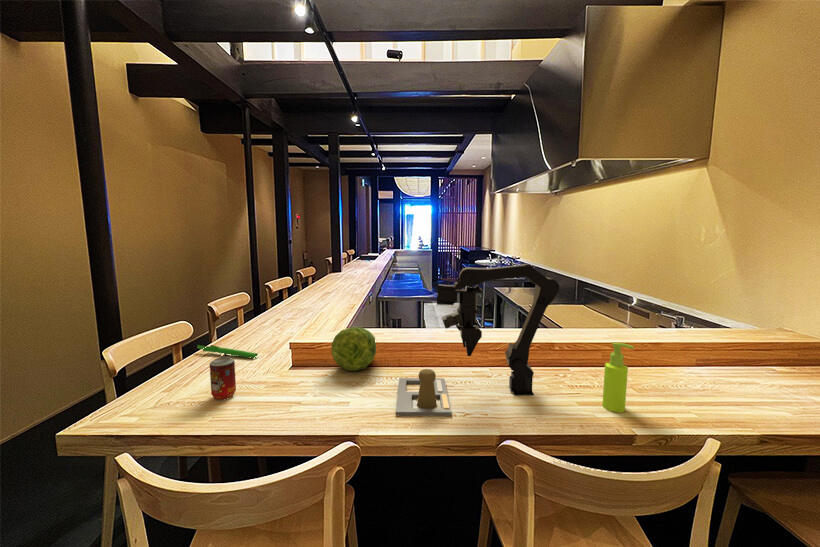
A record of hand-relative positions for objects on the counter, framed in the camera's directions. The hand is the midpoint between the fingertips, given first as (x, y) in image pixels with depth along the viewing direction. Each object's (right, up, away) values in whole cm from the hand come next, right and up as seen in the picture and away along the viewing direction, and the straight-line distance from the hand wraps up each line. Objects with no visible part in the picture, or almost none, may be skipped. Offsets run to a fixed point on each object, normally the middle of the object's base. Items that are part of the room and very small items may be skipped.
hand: (466, 351), depth 117 cm
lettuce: (-40, -11, +24) cm, 48 cm away
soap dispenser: (+43, -15, -12) cm, 47 cm away
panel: (-15, -14, -5) cm, 21 cm away
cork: (-14, -14, -10) cm, 23 cm away
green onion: (-99, -10, +34) cm, 105 cm away
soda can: (-79, -14, -5) cm, 80 cm away
